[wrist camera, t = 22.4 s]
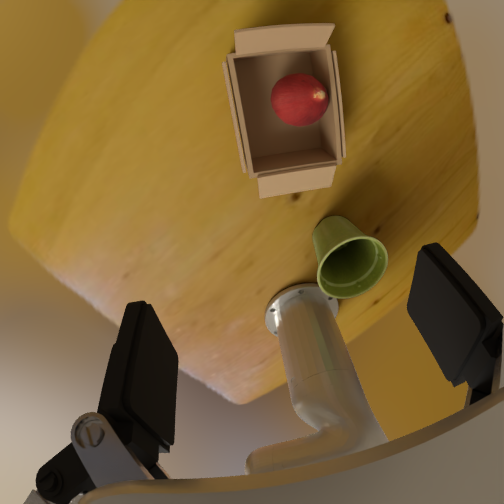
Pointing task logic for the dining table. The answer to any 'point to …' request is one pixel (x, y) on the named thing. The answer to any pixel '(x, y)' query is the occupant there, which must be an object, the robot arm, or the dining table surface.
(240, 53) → the flap
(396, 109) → the dining table surface
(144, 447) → the robot arm
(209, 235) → the dining table surface
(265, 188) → the flap
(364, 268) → the plant pot
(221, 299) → the dining table surface
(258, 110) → the carton
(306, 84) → the onion
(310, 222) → the dining table surface
